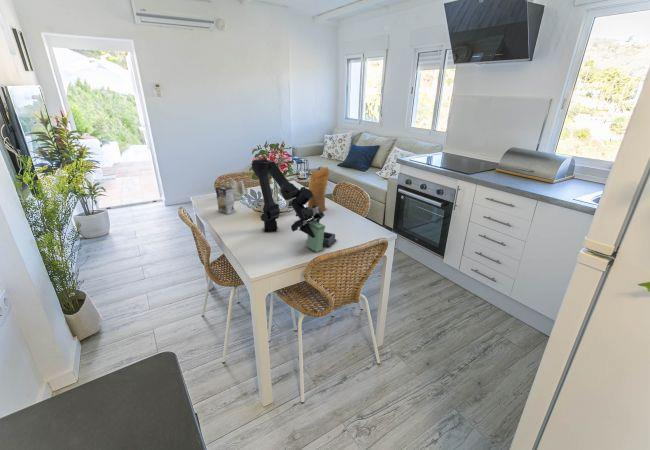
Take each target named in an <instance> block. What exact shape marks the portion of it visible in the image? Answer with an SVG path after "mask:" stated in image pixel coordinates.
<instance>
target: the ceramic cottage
mask: <svg viewBox="0 0 650 450" xmlns="http://www.w3.org/2000/svg"><path fill="white" fill-rule="evenodd" d="M225 186H228V187H232V188H233V196H234V201H240V200H242V199H241V197H242V196H243V195H244V194H249V191H248V190H249V189H248V188H247V187H246V186H245V185H244V181H243V180H240V182H237V181H235V180H234V178H232V179H231V182H229V184H228V183H226V185H225Z"/></svg>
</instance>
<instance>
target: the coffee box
mask: <svg viewBox="0 0 650 450" xmlns="http://www.w3.org/2000/svg"><path fill="white" fill-rule="evenodd" d="M228 186H229V185H228ZM228 186H226V185H223V184H222V185H220V186H216V187H215V194H216V200H217V208H218V212H219V213H223V214H226V215H230V214H232V213H235V212H236V208H235V200H234V196H233V188H232V187H228Z"/></svg>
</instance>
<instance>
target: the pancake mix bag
mask: <svg viewBox="0 0 650 450" xmlns="http://www.w3.org/2000/svg"><path fill="white" fill-rule="evenodd" d="M328 179H329V167H328V166H326V167H323V168H320V169H318V170H315V171H312V172H311V173H310V177H309V183H308V189H309V190H310V191H312V193H313V197H312V198H311V199H310V200H309V201H308V202H307V207H309V209H311V208H313V206H314V205H318V206H319V208H320V210H319V211H318V212H324V211H326V191H327V188H328V187H327V186H328Z"/></svg>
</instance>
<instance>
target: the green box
mask: <svg viewBox="0 0 650 450" xmlns="http://www.w3.org/2000/svg"><path fill="white" fill-rule="evenodd" d="M309 228H310V229H311V231H312V233H313V234H314V238H312V237H311V236H309V235H308V234H307V240H306V247H308V248H309V249H311V250H313V251H314V252H316V253H317V252H319V251H322V250H323V247H324V246H323V238H324V232H325V229H326V225H324V224H323V223H321V222H320V221H319V222H317V221H312V222H309Z"/></svg>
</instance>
